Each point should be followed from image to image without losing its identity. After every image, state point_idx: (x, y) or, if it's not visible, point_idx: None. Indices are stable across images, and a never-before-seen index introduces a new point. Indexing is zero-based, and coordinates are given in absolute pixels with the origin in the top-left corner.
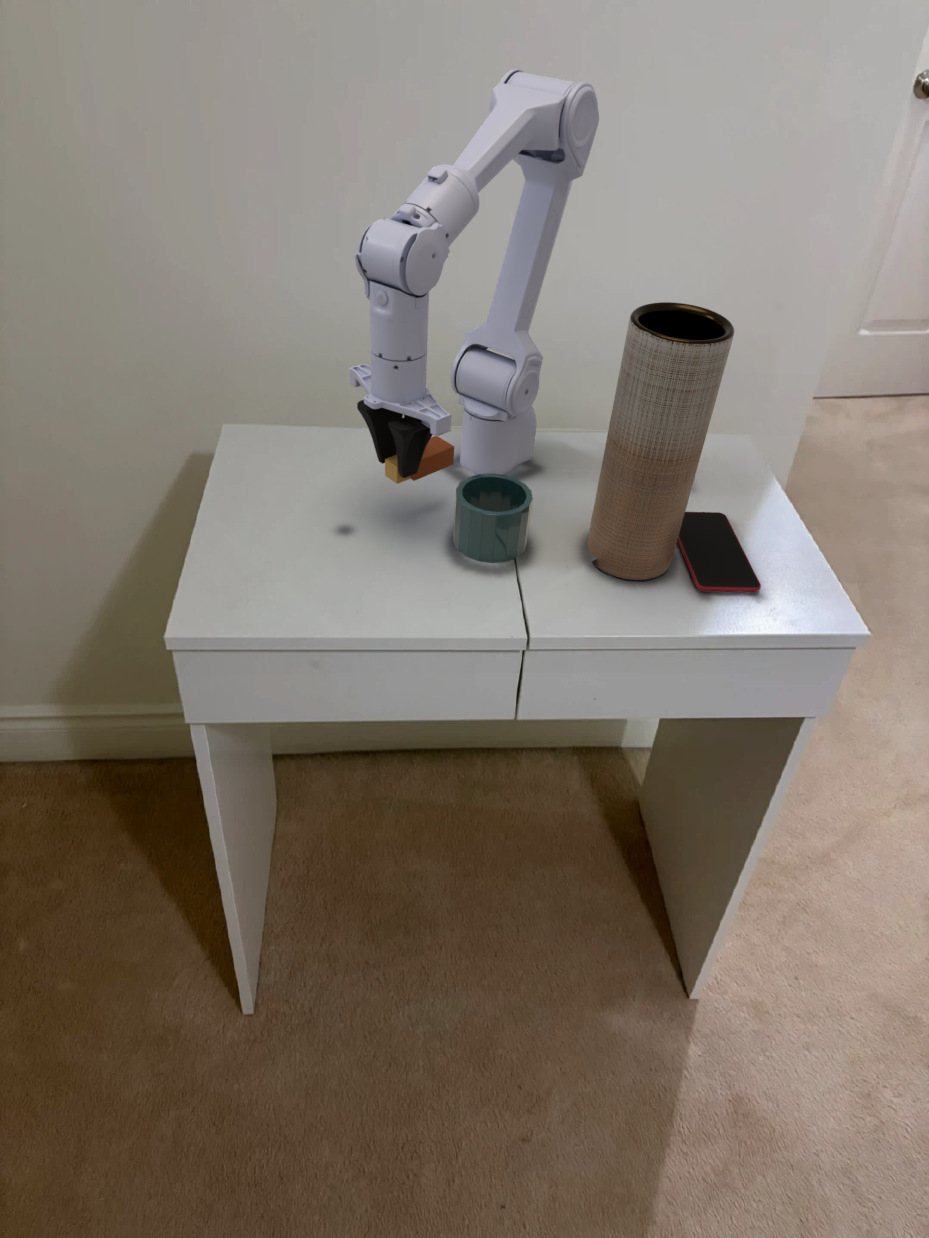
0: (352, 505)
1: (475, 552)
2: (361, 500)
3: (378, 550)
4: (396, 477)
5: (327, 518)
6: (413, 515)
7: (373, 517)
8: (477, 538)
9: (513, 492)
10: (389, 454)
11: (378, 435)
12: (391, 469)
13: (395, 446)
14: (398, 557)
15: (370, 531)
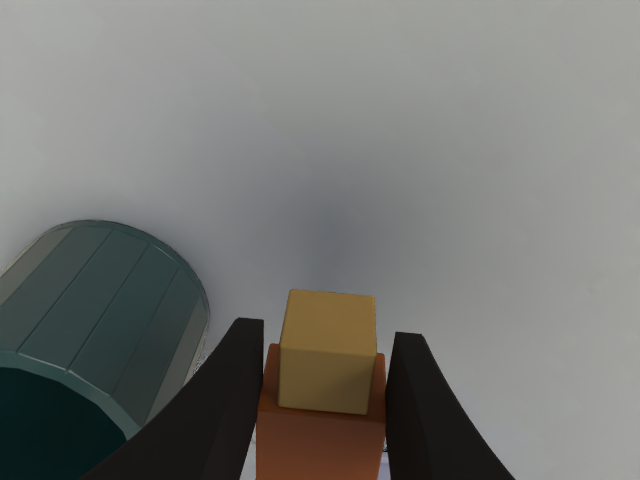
0: (540, 189)
1: (34, 252)
2: (534, 226)
3: (293, 82)
4: (289, 308)
5: (559, 77)
6: (359, 276)
7: (439, 192)
8: (1, 283)
9: (72, 477)
10: (390, 389)
11: (420, 453)
12: (325, 327)
13: (390, 440)
14: (223, 104)
15: (390, 134)
